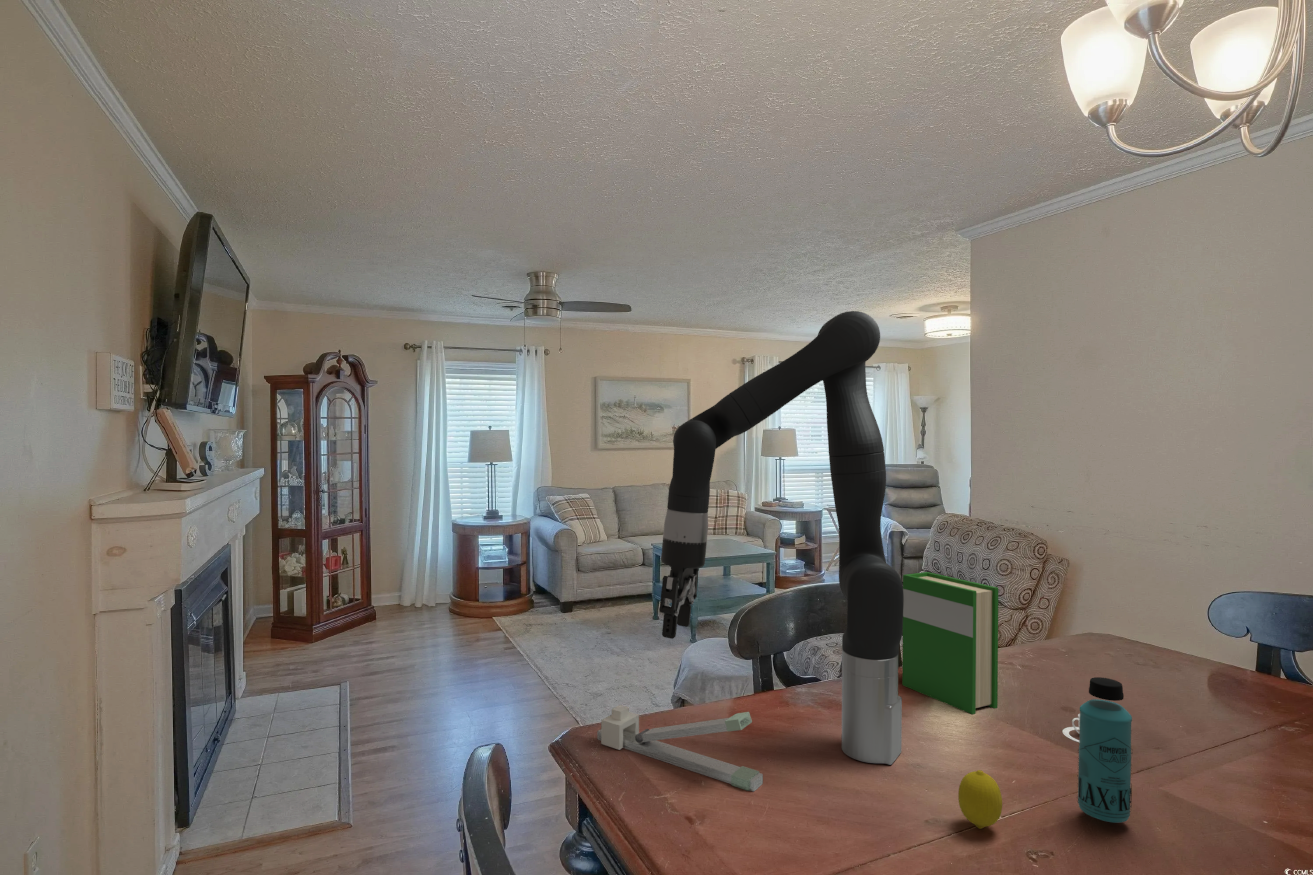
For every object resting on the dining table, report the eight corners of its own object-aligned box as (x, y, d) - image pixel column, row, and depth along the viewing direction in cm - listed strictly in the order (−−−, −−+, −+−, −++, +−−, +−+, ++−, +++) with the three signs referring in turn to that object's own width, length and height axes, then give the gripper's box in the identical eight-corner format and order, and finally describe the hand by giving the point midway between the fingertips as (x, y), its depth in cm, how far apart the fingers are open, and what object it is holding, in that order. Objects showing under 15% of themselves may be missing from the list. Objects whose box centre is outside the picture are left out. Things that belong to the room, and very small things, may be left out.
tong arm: (642, 742, 118) (639, 732, 118) (654, 734, 121) (652, 725, 121) (741, 729, 107) (738, 719, 107) (752, 721, 110) (749, 711, 110)
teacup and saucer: (1115, 735, 128) (1115, 712, 128) (1123, 753, 120) (1123, 729, 120) (1060, 726, 131) (1060, 704, 131) (1064, 743, 124) (1065, 720, 124)
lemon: (1007, 841, 93) (1007, 782, 93) (963, 836, 94) (963, 777, 94) (995, 819, 99) (996, 763, 99) (954, 814, 100) (954, 759, 100)
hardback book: (997, 707, 139) (998, 587, 139) (972, 714, 136) (973, 591, 136) (926, 679, 155) (927, 571, 155) (902, 685, 151) (903, 574, 151)
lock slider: (601, 743, 122) (601, 710, 122) (621, 732, 126) (621, 700, 126) (619, 749, 119) (619, 716, 119) (638, 738, 124) (639, 705, 124)
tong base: (596, 739, 124) (596, 722, 124) (609, 732, 127) (609, 715, 127) (752, 792, 106) (753, 771, 106) (763, 782, 109) (763, 762, 109)
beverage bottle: (1066, 809, 101) (1067, 672, 101) (1109, 807, 102) (1110, 671, 102) (1098, 835, 95) (1099, 689, 95) (1144, 833, 95) (1145, 687, 95)
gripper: (695, 545, 111) (685, 646, 111) (716, 535, 125) (707, 625, 125) (650, 538, 113) (641, 637, 113) (676, 529, 127) (667, 618, 127)
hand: (676, 631), depth 119 cm, fingers open, 8 cm apart
